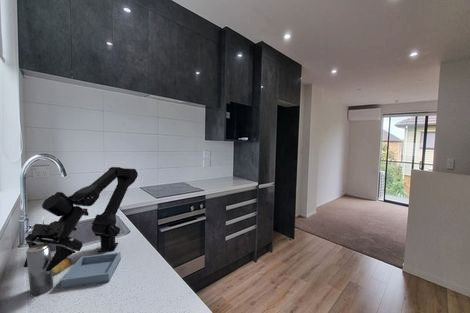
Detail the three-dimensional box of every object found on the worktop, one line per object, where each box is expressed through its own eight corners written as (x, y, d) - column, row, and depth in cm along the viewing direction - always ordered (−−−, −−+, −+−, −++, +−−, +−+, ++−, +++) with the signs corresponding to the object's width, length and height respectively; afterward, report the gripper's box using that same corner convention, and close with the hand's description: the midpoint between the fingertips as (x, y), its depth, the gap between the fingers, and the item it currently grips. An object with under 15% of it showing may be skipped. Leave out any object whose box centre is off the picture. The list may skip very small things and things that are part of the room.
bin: (81, 264, 83) (81, 256, 83) (120, 259, 87) (120, 252, 86) (61, 288, 70) (61, 280, 69) (109, 281, 73) (108, 273, 73)
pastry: (62, 261, 86) (61, 252, 85) (77, 262, 85) (76, 253, 84) (37, 276, 76) (36, 266, 76) (53, 278, 75) (53, 268, 75)
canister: (37, 285, 71) (33, 243, 70) (57, 282, 73) (53, 241, 71) (25, 297, 66) (21, 252, 65) (46, 294, 67) (42, 250, 66)
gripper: (29, 210, 73) (-11, 258, 64) (72, 214, 69) (36, 266, 59) (54, 223, 82) (22, 267, 72) (94, 227, 77) (66, 275, 68)
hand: (35, 269), depth 67 cm, fingers open, 9 cm apart
